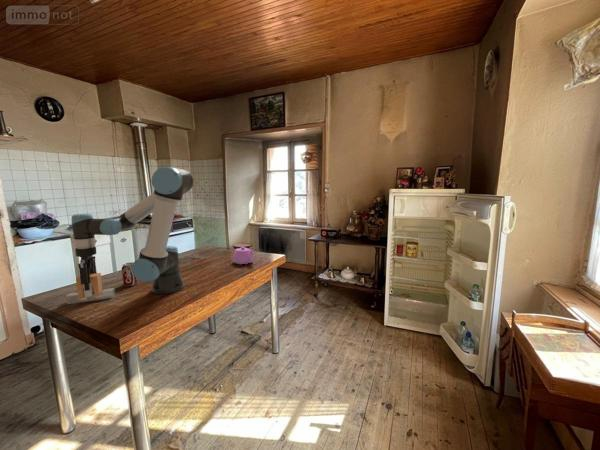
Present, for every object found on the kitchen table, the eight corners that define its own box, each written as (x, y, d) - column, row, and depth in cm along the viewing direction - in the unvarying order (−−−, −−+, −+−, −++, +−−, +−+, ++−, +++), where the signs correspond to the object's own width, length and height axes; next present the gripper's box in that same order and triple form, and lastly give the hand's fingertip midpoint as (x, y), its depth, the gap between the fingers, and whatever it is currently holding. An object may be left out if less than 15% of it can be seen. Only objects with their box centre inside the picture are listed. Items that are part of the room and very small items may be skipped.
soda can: (136, 281, 147) (134, 261, 145) (139, 284, 142) (137, 264, 141) (122, 284, 142) (120, 263, 141) (124, 288, 138) (122, 266, 136)
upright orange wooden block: (102, 292, 127) (100, 272, 126) (99, 296, 123) (97, 276, 121) (82, 294, 124) (80, 274, 123) (78, 298, 120) (76, 278, 118)
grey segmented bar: (115, 295, 129) (114, 287, 128) (113, 297, 126) (112, 290, 125) (70, 301, 122) (69, 293, 122) (67, 304, 119) (65, 296, 118)
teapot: (227, 263, 183) (227, 247, 181) (241, 258, 194) (241, 243, 192) (247, 268, 172) (246, 251, 170) (261, 263, 182) (260, 247, 181)
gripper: (83, 243, 127) (88, 288, 130) (66, 252, 110) (73, 303, 114) (101, 242, 130) (106, 286, 133) (88, 250, 113) (93, 300, 117)
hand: (91, 293), depth 123 cm, fingers closed on upright orange wooden block, 5 cm apart
